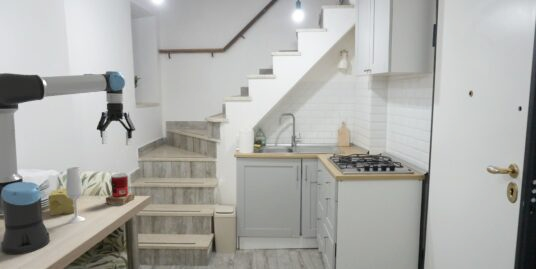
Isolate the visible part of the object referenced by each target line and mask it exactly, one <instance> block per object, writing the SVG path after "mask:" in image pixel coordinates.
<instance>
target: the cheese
mask: <svg viewBox="0 0 536 269" xmlns="http://www.w3.org/2000/svg"><path fill="white" fill-rule="evenodd" d="M48 208H49V215H50V216H58V215H63V214H66V215H67V214H68V215H69V214H75V208H74V200H73V199H71V198H70V197H68V196H67V194H66V188H64V189H57V190H56V189H53V190H51V193H50V194H49V195H48Z"/></svg>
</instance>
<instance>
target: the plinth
mask: <svg viewBox="0 0 536 269" xmlns="http://www.w3.org/2000/svg"><path fill="white" fill-rule="evenodd" d="M134 198H135V193H132V192H128V195H126V196H124V197H113V195H112V194H111V195H109V196H107V197H105V204H106V203H110V204H109V205H119V204H120V205H122V206H123V205H125V204H128V203H129V201H130V202H131V201H133V200H135V199H134Z"/></svg>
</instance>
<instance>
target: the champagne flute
mask: <svg viewBox="0 0 536 269" xmlns="http://www.w3.org/2000/svg"><path fill="white" fill-rule="evenodd" d="M65 184H66V186H65V187H66V188H65V189H66V194H67V196H68V197H70V198H71V199H73V200H74V208H75V211H74V217H72V218H71V219H69V220H68V223H70V224H77V223H81V222H83V221H86V218H85V217H83V216H80V215H79V210H78V199H79V198H80V197H81V196H82V195H84V194H83V193H84V187H83V183H82V178H81V172H80V167H77V166H76V167H75V166H74V167H68V168H66V183H65Z"/></svg>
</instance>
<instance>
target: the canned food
mask: <svg viewBox="0 0 536 269" xmlns="http://www.w3.org/2000/svg"><path fill="white" fill-rule="evenodd" d="M110 181H111V195H113V197H124V196H126V195H128V193H129V184H128V183H129V181H128V174H127V173H125V172H123V173H121V172H120V173H114V174H112V175H111V176H110Z"/></svg>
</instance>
